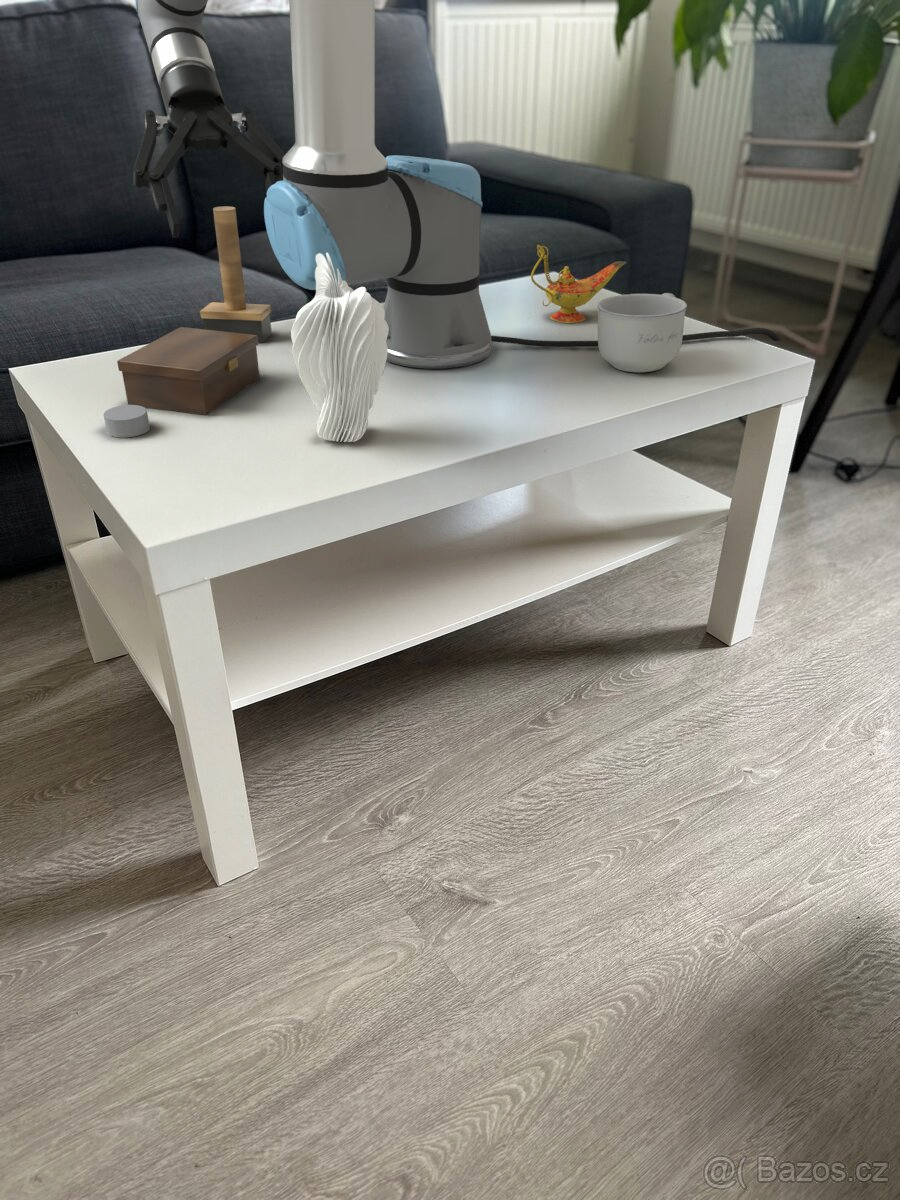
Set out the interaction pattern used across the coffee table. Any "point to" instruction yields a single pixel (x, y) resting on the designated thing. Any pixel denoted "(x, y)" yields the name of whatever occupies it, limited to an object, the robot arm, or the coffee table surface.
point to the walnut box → (190, 370)
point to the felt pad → (126, 421)
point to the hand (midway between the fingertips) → (230, 227)
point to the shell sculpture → (340, 353)
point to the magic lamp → (572, 289)
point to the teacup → (640, 330)
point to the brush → (234, 286)
